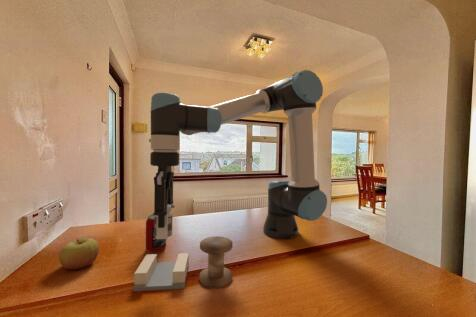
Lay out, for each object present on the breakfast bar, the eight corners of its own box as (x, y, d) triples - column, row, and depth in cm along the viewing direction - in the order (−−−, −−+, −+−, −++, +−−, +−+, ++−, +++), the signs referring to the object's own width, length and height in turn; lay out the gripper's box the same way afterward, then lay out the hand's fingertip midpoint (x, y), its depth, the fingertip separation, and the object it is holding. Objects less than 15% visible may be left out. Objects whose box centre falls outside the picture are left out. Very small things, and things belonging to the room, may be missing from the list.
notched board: (188, 264, 67) (189, 251, 67) (183, 288, 55) (183, 273, 55) (147, 265, 66) (147, 252, 66) (132, 291, 54) (133, 275, 54)
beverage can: (159, 254, 73) (159, 219, 72) (141, 252, 74) (141, 218, 74) (169, 246, 79) (169, 214, 79) (153, 244, 81) (153, 212, 80)
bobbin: (230, 268, 65) (231, 236, 65) (233, 287, 56) (233, 249, 56) (200, 269, 64) (200, 236, 64) (198, 289, 55) (198, 250, 55)
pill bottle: (158, 232, 63) (159, 203, 62) (174, 232, 63) (175, 203, 62) (151, 238, 58) (151, 207, 58) (168, 239, 58) (169, 208, 57)
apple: (65, 260, 68) (65, 235, 68) (101, 255, 72) (101, 231, 72) (53, 277, 59) (53, 248, 59) (95, 270, 63) (95, 243, 63)
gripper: (159, 150, 68) (158, 223, 69) (140, 151, 50) (139, 249, 51) (183, 151, 69) (182, 223, 70) (173, 151, 51) (172, 248, 52)
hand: (164, 234), depth 60 cm, fingers closed on pill bottle, 5 cm apart
